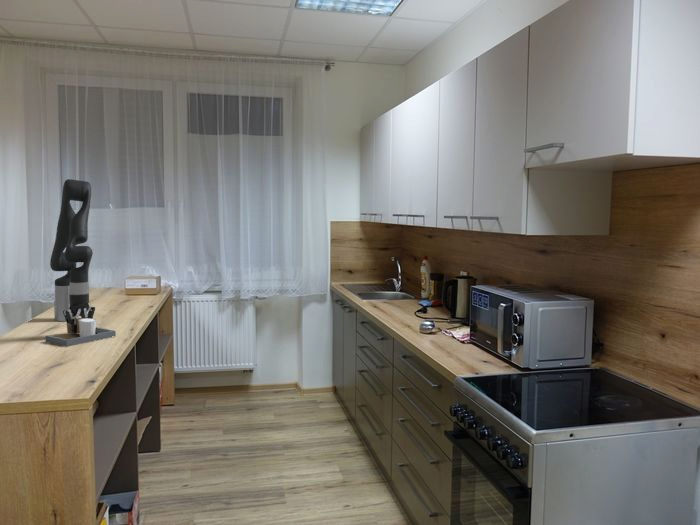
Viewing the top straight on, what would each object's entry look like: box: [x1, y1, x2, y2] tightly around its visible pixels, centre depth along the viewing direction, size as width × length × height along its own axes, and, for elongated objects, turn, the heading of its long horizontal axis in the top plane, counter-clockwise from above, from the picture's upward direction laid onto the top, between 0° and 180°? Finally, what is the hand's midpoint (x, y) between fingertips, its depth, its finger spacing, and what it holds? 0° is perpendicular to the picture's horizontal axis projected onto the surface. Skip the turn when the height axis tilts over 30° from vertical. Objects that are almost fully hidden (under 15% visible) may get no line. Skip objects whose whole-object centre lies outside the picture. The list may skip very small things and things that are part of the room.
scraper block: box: [66, 317, 85, 334], centre depth 230 cm, size 8×4×6 cm, turn 60°
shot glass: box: [79, 318, 98, 337], centre depth 227 cm, size 7×7×7 cm
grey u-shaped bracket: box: [44, 327, 117, 347], centre depth 222 cm, size 14×22×2 cm, turn 151°
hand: (79, 331), depth 229 cm, fingers closed on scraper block, 4 cm apart
